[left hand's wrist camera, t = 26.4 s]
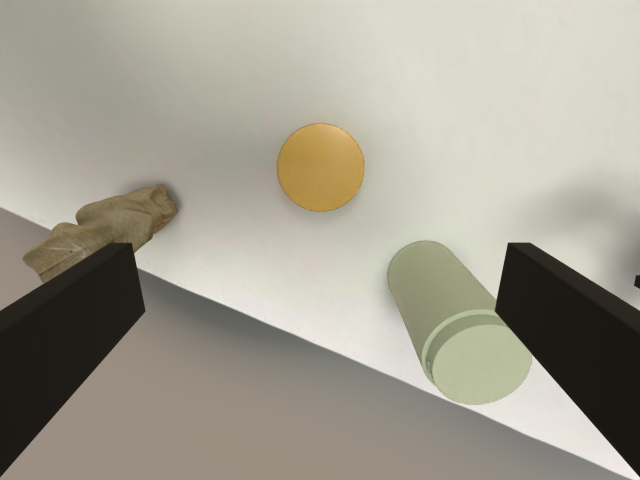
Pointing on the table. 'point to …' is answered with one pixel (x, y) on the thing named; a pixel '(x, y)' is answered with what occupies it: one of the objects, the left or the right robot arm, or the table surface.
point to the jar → (455, 326)
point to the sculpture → (102, 229)
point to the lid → (320, 167)
